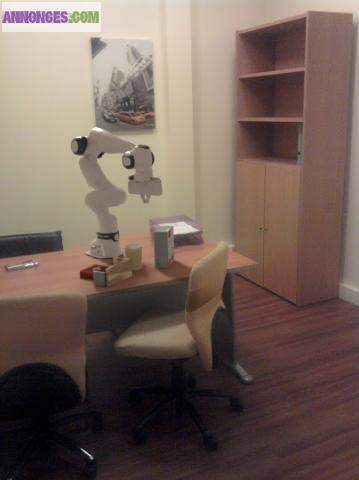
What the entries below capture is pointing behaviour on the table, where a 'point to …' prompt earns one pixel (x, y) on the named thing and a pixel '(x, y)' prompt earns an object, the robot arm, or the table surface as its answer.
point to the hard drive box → (164, 246)
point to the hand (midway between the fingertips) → (145, 203)
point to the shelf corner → (118, 270)
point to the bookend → (100, 278)
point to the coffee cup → (134, 255)
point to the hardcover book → (89, 271)
